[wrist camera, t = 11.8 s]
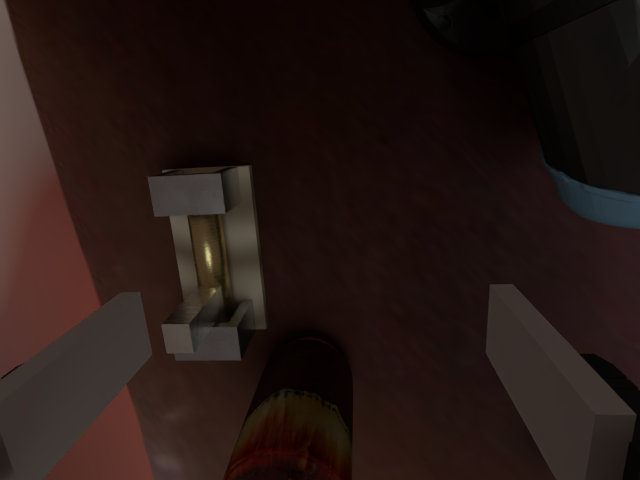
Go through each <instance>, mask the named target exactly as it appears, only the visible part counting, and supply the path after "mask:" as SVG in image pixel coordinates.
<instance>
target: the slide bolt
mask: <svg viewBox="0 0 640 480" xmlns="http://www.w3.org/2000/svg"><path fill="white" fill-rule="evenodd" d="M187 219H188V226H189V232H190V239H191V245H192V252H193V258H194V264H195V271H196V277H197V284H198V287H197V288H196V289H195V290H194V291H193V292H192V293H191V294H190V295H189V296H188V297H187V298H186V299H185V300H184V301H183V302H182V303H181V304H180V306H179V307H178V308H177V309H176V310H175V311H174V312H173V313H172V314H171V315H170V316H169V317H168V318H167V319H166V320H165V321H164V322H163V323H162V330H163V335H164V340H165V346H166V351H167V353H194V352H195V351H196V349H197V348H198V347H199V345H200V344H201V342H202V341H203V339H204V338H205V337H206V335H207V334H208V332H209V331H210V329H211V328H212V327H213V325H214V324H215V323H229V321H230V320H231V318H232V316H233V315H234V309H233V301H232V294H231V286H230V278H229V271H228V263H227V256H226V248H225V240H224V233H223V225H222V217H221V214H206V215H187Z"/></svg>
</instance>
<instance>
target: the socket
mask: <svg viewBox="0 0 640 480" xmlns="http://www.w3.org/2000/svg"><path fill="white" fill-rule="evenodd" d="M255 330H256V324H255V315H254V307H253V300H243V301H242V302H241V304H240V305H239V307H238V309H237V310H236V312H235V313H234V315H233V316H232V318H231V320H230V321H229V323H215V324H214V325H213V327H212V328H211V329H210V331H209V332H208V334H207V335H206V337H205V338H204V339H203V341H202V342H201V344H200V345H199V347H198V348H197V349H196V351H195V352H194V353H174V355H175V360H241V359H242V357H243V355H244V353H245V351H246V349H247V347H248V345H249V343H250V341H251V339H252V337H253V335H254V332H255Z"/></svg>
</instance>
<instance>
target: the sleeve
mask: <svg viewBox="0 0 640 480" xmlns="http://www.w3.org/2000/svg"><path fill="white" fill-rule="evenodd" d="M148 182H149V188H150V193H151V199H152V205H153V210H154V216H155V217H156V216H181V215H206V214H226V213H227V212H229V211H230V210H231V209H233V208H234V207H236V206H237V205H238V204H240V203H241V194H240V186H239V177H238V168H237V167H226V168H223V169H221V170H218V171H215V172H212V173H195V174H184V170H172V171H168V172H164V173H161V174H157V175H153V176H149V177H148Z"/></svg>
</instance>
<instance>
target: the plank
mask: <svg viewBox="0 0 640 480" xmlns="http://www.w3.org/2000/svg"><path fill="white" fill-rule="evenodd" d="M226 167H237V168H238V177H239V186H240V194H241V203H240V204H238V205H237V206H236V207H234V208H233V209H231V210H230V211H229V212H227V213H226V214H221V217H222V225H223V233H224V240H225V248H226V256H227V263H228V271H229V278H230V286H231V294H232V301H233V309H234V313H235V312H236V310H237V309H238V307H239V305H240V304H241V302H242V301H243V300H253V307H254V315H255V324H256V329H267V326H268V316H267V306H266V297H265V288H264V278H263V269H262V259H261V250H260V240H259V231H258V221H257V212H256V202H255V193H254V184H253V174H252V165H242V166H223V167H204V168H185V169H167V170H163V171H162V173H164V172H168V171H172V170H184V174H195V173H212V172H215V171H218V170H221V169H223V168H226ZM170 221H171V227H172V233H173V239H174V245H175V251H176V257H177V263H178V269H179V275H180V280H181V286H182V292H183V298H184V300H185V299H186V298H187V297H188V296H189V295H190V294H191V293H192V292H193V291H194V290H195V289H196V288H197V287H198V284H197V277H196V271H195V264H194V258H193V252H192V245H191V239H190V232H189V226H188V219H187V215H181V216H170Z"/></svg>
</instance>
